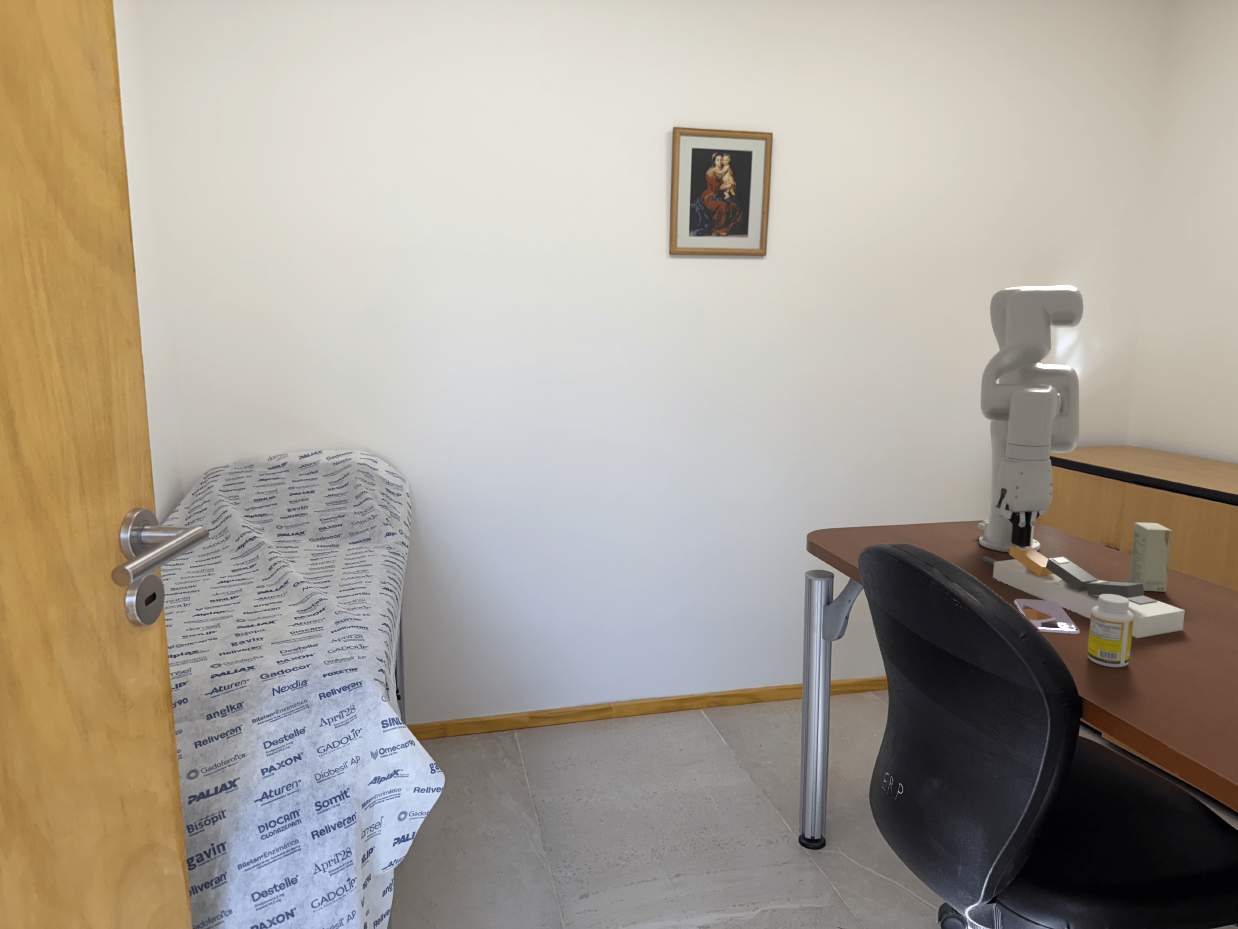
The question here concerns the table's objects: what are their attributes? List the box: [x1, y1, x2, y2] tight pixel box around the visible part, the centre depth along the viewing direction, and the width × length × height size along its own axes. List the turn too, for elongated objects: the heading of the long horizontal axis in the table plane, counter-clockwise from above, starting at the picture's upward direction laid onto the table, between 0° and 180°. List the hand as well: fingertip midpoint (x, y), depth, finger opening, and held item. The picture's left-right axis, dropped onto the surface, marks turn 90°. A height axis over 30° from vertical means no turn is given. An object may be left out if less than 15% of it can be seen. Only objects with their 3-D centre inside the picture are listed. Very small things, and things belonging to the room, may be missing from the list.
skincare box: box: [1128, 521, 1173, 593], centre depth 154 cm, size 6×4×12 cm
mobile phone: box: [1013, 598, 1080, 635], centre depth 141 cm, size 8×1×15 cm
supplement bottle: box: [1087, 594, 1134, 668], centre depth 122 cm, size 6×6×10 cm
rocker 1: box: [1008, 545, 1054, 576], centre depth 154 cm, size 8×4×2 cm, turn 18°
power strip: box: [981, 556, 1186, 639], centre depth 151 cm, size 40×10×5 cm, turn 18°
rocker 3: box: [1086, 580, 1145, 598], centre depth 137 cm, size 8×4×2 cm, turn 17°
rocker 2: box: [1046, 556, 1099, 591], centre depth 146 cm, size 8×4×2 cm, turn 18°
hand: (1020, 544), depth 157 cm, fingers closed
